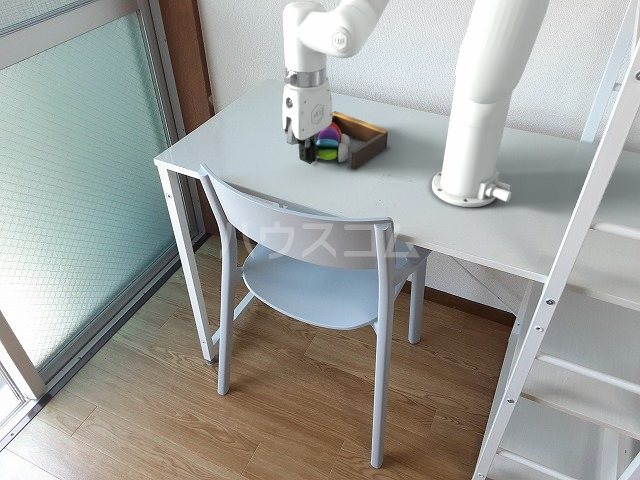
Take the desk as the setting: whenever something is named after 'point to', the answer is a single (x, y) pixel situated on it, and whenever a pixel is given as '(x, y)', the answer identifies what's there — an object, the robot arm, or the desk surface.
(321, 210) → the desk surface
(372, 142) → the garage
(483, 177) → the robot arm
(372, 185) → the desk surface
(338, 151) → the rainbow white-wheeled buggy
